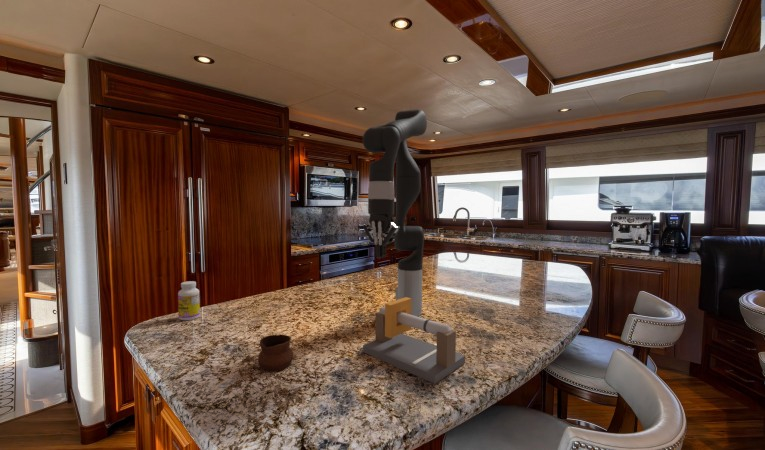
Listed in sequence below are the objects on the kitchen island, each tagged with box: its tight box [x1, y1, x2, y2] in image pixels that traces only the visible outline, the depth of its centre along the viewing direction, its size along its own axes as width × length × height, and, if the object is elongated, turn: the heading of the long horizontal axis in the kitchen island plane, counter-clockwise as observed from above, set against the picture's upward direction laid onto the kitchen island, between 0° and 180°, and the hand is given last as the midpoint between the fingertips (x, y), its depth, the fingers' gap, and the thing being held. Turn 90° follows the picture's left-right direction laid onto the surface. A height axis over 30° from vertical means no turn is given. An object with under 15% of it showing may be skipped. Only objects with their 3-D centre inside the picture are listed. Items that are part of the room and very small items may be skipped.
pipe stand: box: [362, 306, 466, 385], centre depth 90 cm, size 24×14×12 cm, turn 47°
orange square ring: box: [384, 297, 412, 338], centre depth 93 cm, size 2×9×9 cm, turn 137°
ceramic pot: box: [237, 334, 294, 380], centre depth 86 cm, size 18×18×7 cm
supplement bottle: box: [177, 280, 201, 321], centre depth 119 cm, size 7×7×13 cm
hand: (380, 257), depth 97 cm, fingers closed
